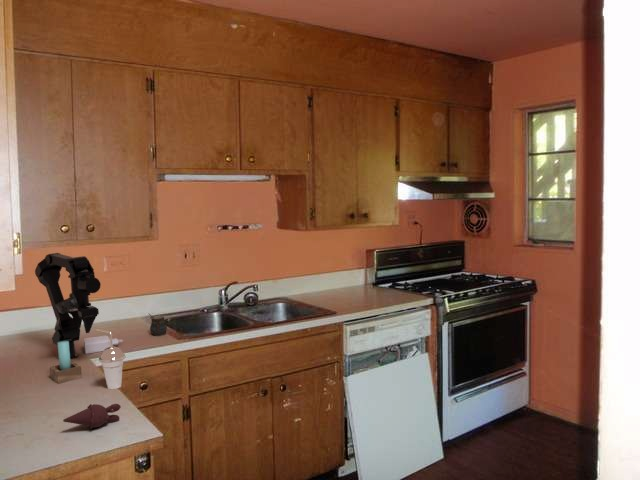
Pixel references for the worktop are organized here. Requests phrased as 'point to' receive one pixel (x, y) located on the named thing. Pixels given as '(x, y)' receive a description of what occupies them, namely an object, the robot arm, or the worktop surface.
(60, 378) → the socket block
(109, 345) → the lavender nozzle bottle
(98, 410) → the icecream
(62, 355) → the peg
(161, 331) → the mate gourd
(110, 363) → the cup with straw
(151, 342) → the worktop surface
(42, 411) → the worktop surface
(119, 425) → the worktop surface
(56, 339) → the robot arm
